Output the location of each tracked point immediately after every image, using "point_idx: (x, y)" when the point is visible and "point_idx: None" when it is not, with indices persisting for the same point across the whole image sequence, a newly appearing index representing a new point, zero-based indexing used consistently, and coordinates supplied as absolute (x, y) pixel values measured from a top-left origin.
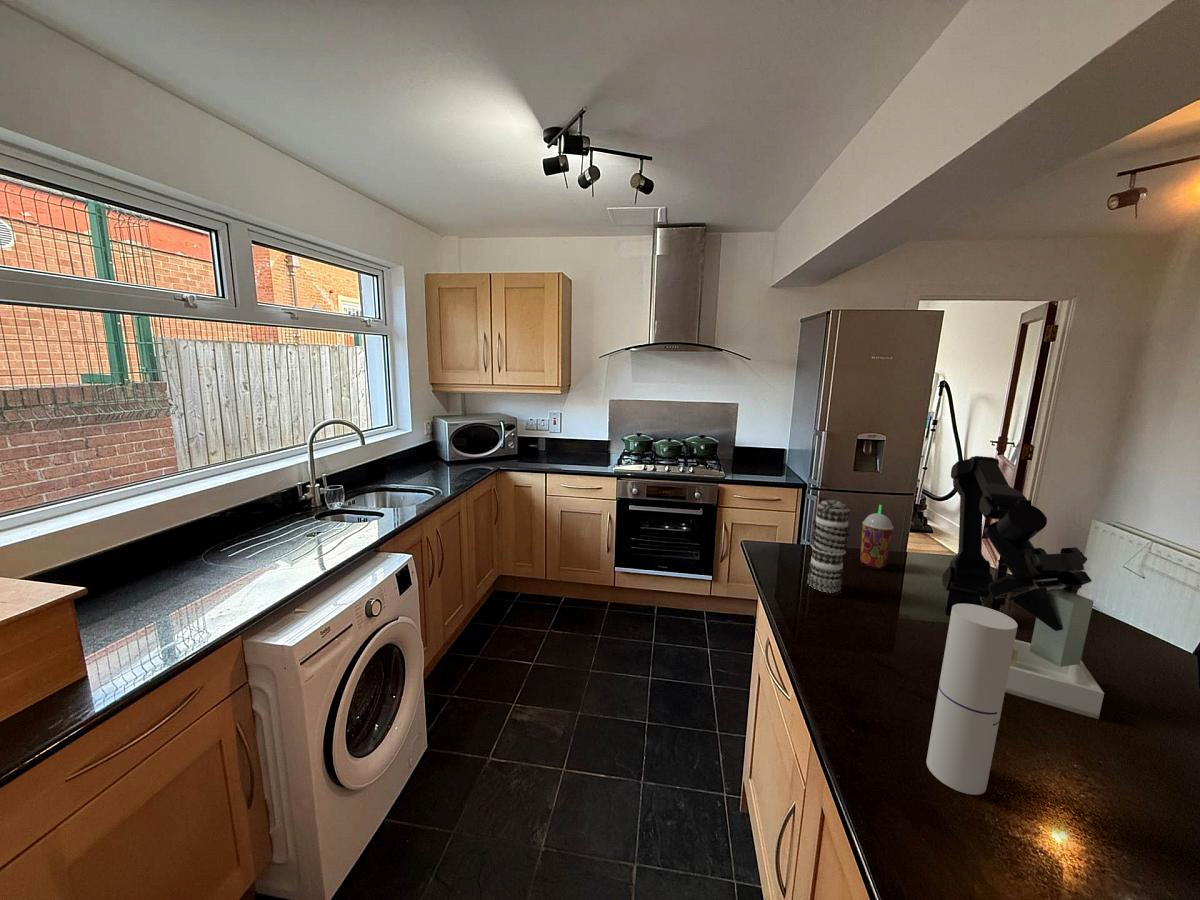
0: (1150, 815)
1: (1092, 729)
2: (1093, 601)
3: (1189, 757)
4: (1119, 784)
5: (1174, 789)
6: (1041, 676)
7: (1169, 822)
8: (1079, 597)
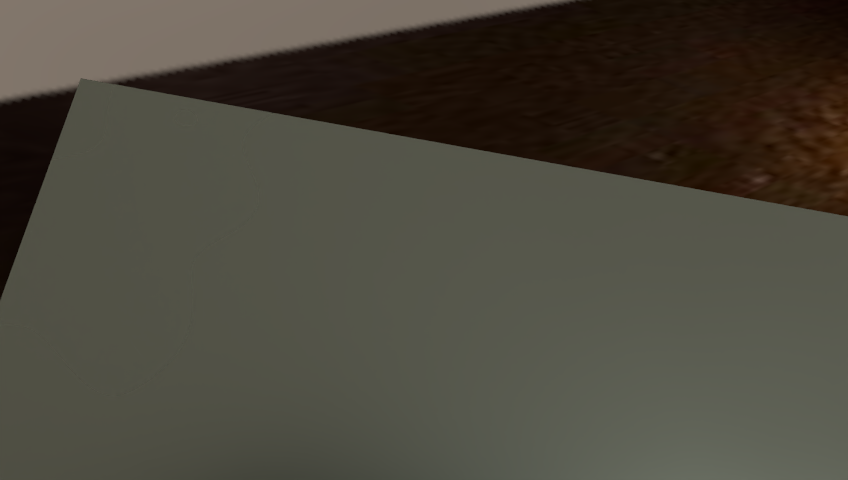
0: (744, 28)
1: None
2: (105, 92)
3: (316, 46)
4: (706, 96)
5: (565, 27)
6: None
7: (721, 3)
8: (249, 460)
